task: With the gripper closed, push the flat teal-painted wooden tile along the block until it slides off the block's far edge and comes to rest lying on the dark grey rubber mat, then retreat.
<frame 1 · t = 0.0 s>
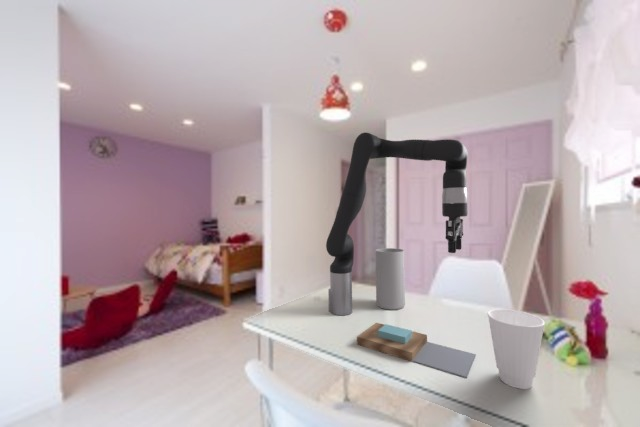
hand: (455, 251, 94), 29 cm above the table, fingers open, 8 cm apart
cup: (515, 381, 72), on the table
cylinder vase: (390, 305, 128), on the table
block: (392, 343, 92), on the table
tile: (395, 336, 92), point 2 cm above the table, touching block
mat: (444, 358, 83), on the table
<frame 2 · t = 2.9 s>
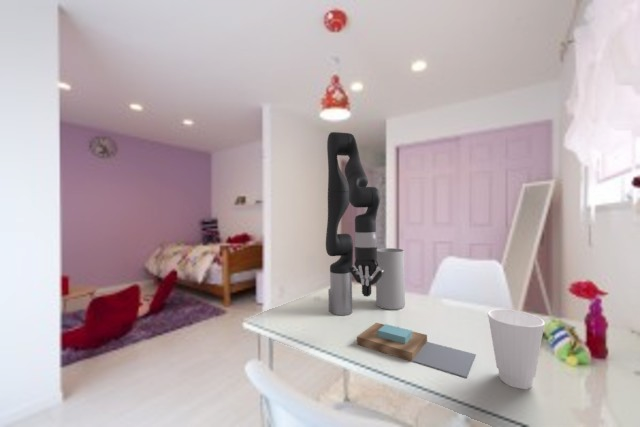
hand: (366, 295, 97), 14 cm above the table, fingers closed
nothing on the table moved.
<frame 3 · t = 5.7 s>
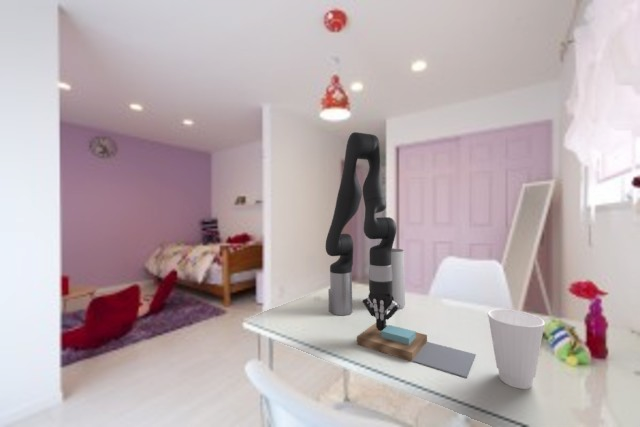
hand: (381, 329, 94), 4 cm above the table, fingers closed
tile: (398, 337, 91), point 3 cm above the table, touching block, gripper
everything else where it was.
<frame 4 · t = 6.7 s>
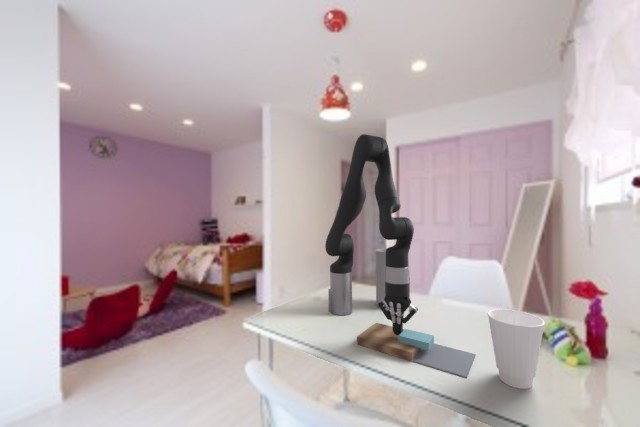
hand: (397, 334, 91), 4 cm above the table, fingers closed
tile: (416, 341, 88), point 2 cm above the table, touching block, gripper
everything else where it was.
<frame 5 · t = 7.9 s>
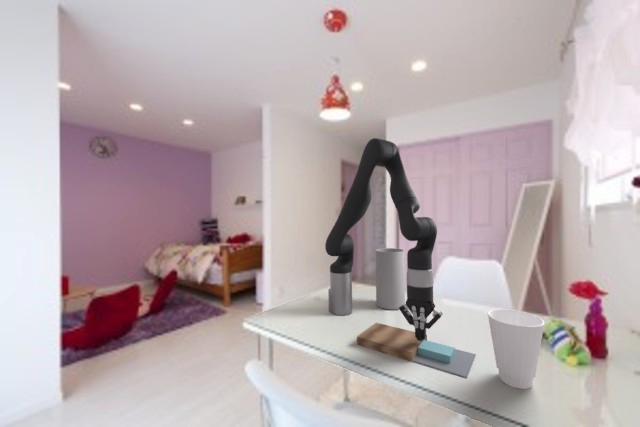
hand: (420, 339, 87), 4 cm above the table, fingers closed
tile: (436, 354, 84), resting on mat
everything else where it was.
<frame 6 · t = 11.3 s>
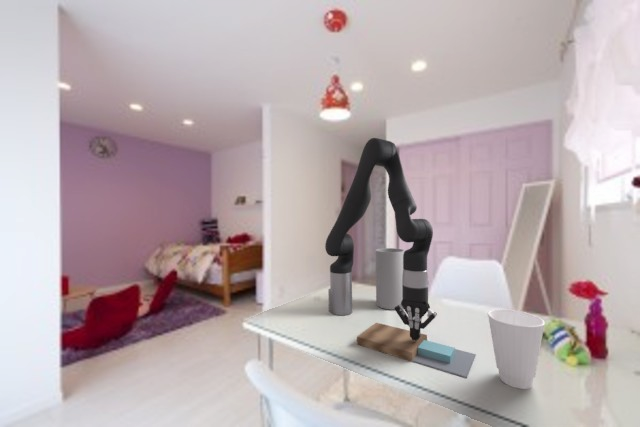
hand: (415, 339, 88), 3 cm above the table, fingers closed
nothing on the table moved.
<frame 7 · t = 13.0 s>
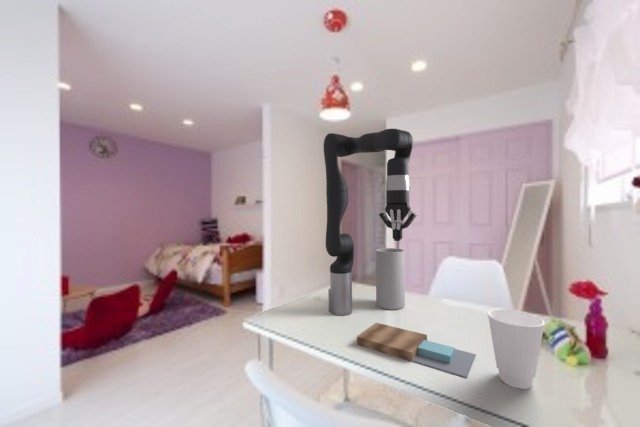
hand: (397, 240, 97), 33 cm above the table, fingers closed
nothing on the table moved.
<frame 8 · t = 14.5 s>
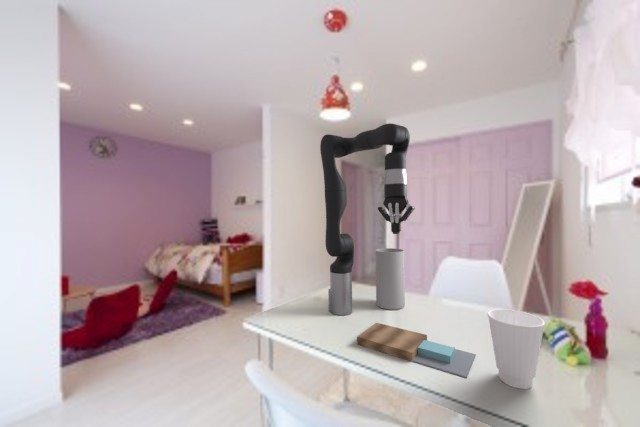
hand: (396, 233, 98), 35 cm above the table, fingers closed
nothing on the table moved.
at the end: tile resting on mat; tile inside the target area on the mat (2.4 cm from its centre), point 0.3 cm above the mat's base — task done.
